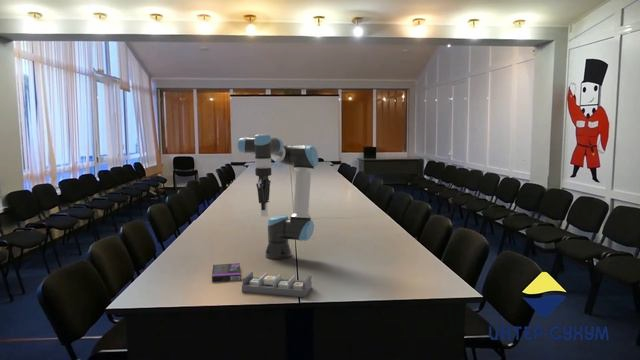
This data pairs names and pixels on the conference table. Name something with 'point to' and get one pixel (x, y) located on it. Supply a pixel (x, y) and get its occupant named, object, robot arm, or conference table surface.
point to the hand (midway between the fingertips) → (264, 216)
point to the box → (226, 272)
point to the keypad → (276, 286)
